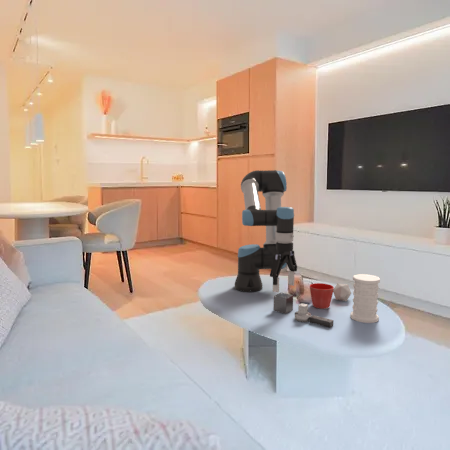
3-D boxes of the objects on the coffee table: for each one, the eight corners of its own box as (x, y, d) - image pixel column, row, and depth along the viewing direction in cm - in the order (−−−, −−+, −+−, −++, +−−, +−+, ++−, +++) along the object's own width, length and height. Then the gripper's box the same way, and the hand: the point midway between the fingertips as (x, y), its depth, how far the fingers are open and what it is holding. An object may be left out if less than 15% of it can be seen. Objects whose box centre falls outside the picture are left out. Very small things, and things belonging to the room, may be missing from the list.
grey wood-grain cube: (273, 310, 176) (273, 295, 175) (280, 306, 181) (280, 292, 180) (285, 313, 172) (286, 298, 171) (292, 309, 177) (293, 295, 176)
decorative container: (376, 325, 160) (378, 282, 157) (347, 319, 165) (349, 278, 163) (380, 315, 170) (382, 276, 167) (353, 311, 175) (355, 272, 173)
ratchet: (291, 319, 165) (291, 305, 164) (299, 315, 171) (299, 301, 170) (328, 329, 155) (328, 314, 154) (335, 324, 160) (335, 309, 160)
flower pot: (317, 300, 189) (317, 281, 188) (337, 306, 182) (338, 286, 180) (304, 306, 182) (305, 285, 181) (325, 312, 174) (326, 291, 173)
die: (342, 305, 185) (354, 289, 185) (327, 293, 189) (339, 278, 189) (344, 305, 192) (356, 290, 192) (330, 294, 196) (341, 279, 196)
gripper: (277, 246, 160) (276, 296, 162) (305, 239, 179) (304, 283, 182) (262, 244, 165) (261, 293, 167) (291, 237, 184) (290, 281, 186)
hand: (283, 288), depth 174 cm, fingers open, 13 cm apart
